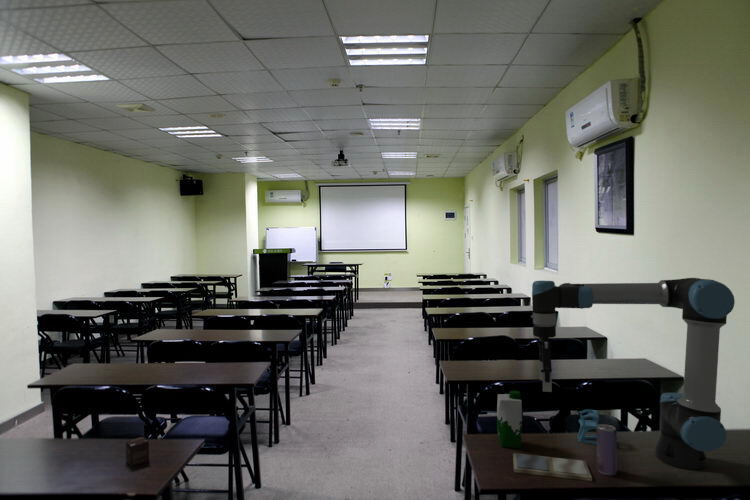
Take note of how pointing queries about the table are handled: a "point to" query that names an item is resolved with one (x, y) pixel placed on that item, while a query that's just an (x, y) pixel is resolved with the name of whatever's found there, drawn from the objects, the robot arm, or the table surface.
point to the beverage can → (606, 449)
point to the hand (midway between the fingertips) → (545, 385)
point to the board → (551, 467)
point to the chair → (588, 426)
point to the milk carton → (509, 419)
